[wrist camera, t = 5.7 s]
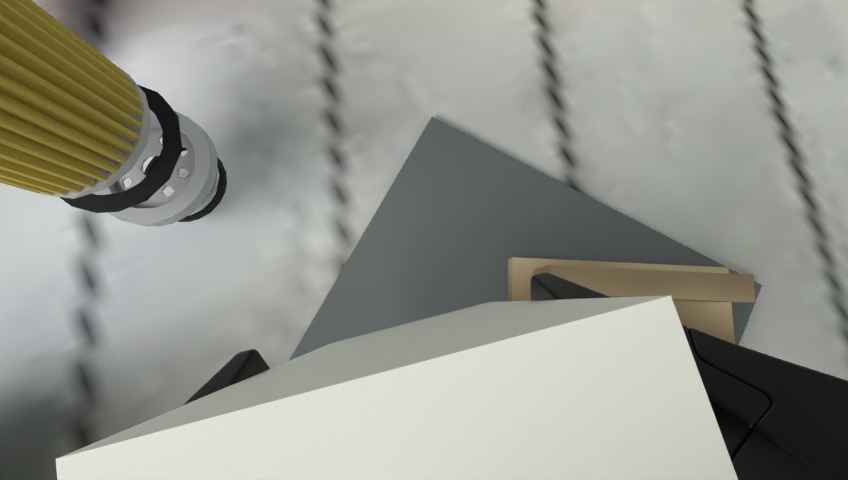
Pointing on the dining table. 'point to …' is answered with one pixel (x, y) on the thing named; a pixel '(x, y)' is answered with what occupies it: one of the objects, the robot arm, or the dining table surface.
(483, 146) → the mat
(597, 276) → the rack
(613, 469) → the menu card
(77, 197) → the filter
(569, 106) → the dining table surface
